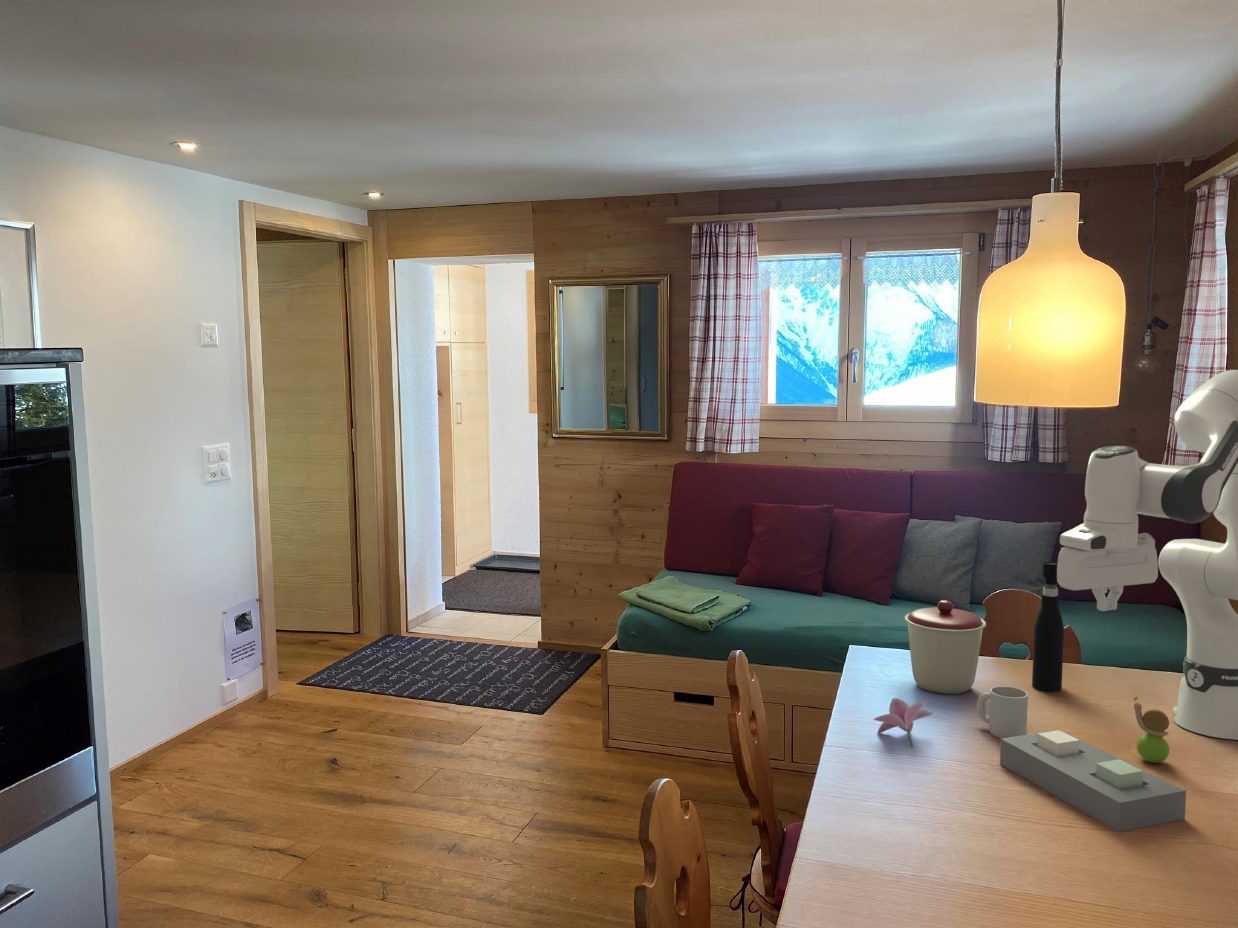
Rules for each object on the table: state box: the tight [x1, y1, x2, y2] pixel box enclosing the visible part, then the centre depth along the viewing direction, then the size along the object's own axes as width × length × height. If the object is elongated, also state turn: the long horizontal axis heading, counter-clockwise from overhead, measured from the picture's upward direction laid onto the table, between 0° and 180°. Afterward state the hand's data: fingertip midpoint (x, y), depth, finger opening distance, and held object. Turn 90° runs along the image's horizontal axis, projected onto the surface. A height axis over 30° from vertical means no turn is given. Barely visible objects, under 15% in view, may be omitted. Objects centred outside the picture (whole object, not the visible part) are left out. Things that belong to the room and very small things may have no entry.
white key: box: [1037, 729, 1080, 757], centre depth 173 cm, size 5×5×5 cm
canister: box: [904, 599, 987, 695], centre depth 220 cm, size 18×18×21 cm
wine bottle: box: [1031, 560, 1065, 693], centre depth 219 cm, size 6×6×30 cm
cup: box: [976, 685, 1029, 739], centre depth 193 cm, size 7×10×9 cm
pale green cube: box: [1096, 758, 1143, 790], centre depth 160 cm, size 5×5×5 cm
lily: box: [873, 697, 935, 749], centre depth 189 cm, size 12×12×10 cm
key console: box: [999, 729, 1187, 833], centre depth 167 cm, size 14×28×5 cm, turn 18°
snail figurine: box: [1133, 696, 1170, 764], centre depth 178 cm, size 5×6×12 cm
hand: (1106, 609), depth 171 cm, fingers closed
